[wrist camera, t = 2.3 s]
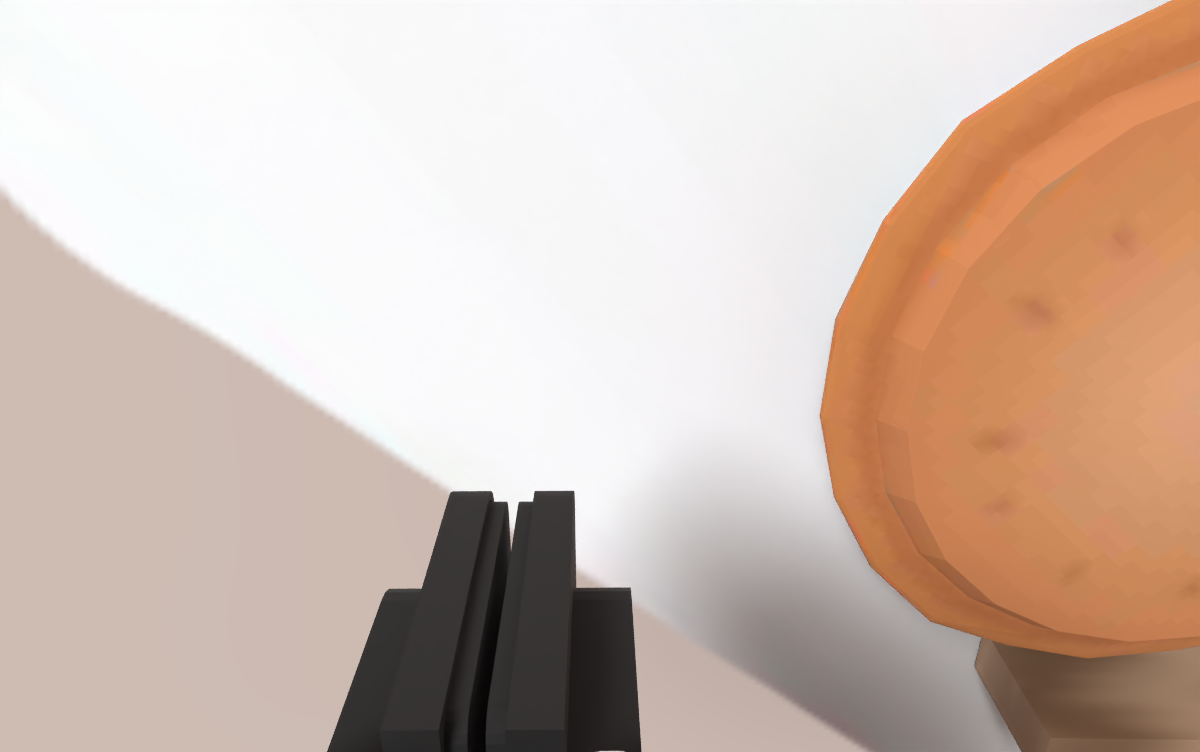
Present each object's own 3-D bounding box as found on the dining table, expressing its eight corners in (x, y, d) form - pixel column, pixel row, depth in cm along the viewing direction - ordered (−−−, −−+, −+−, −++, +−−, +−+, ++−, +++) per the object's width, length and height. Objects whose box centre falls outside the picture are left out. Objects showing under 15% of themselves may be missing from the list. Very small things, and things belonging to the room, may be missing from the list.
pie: (780, 28, 18) (840, 35, 13) (1538, -67, 17) (1889, -95, 12) (792, 591, 24) (835, 728, 19) (1340, 546, 23) (1520, 678, 18)
